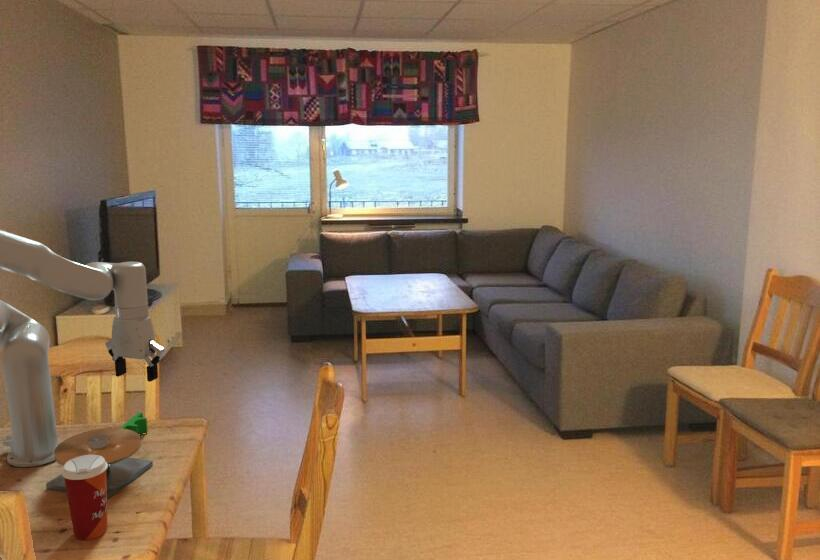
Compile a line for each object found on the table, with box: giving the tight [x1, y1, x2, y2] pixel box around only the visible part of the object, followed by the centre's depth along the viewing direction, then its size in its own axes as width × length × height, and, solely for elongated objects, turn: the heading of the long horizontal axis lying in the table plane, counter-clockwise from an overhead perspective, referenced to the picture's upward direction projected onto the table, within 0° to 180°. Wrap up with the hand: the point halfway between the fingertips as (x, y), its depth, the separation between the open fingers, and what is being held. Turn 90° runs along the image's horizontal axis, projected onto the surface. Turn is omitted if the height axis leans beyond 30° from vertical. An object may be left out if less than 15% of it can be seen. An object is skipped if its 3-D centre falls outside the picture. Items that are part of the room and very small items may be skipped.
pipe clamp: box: [119, 412, 149, 435], centre depth 181 cm, size 11×4×5 cm, turn 173°
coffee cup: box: [61, 455, 108, 541], centre depth 138 cm, size 8×8×15 cm
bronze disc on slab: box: [45, 427, 154, 500], centre depth 160 cm, size 18×18×10 cm
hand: (136, 377), depth 177 cm, fingers open, 9 cm apart
